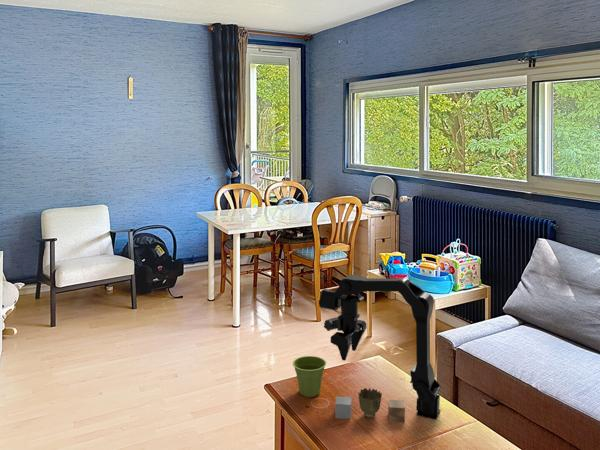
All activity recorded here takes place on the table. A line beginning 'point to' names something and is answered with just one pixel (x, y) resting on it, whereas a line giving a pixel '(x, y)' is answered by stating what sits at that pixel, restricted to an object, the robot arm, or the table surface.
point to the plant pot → (309, 374)
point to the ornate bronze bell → (369, 401)
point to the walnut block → (396, 411)
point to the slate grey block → (343, 407)
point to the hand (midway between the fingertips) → (348, 355)
